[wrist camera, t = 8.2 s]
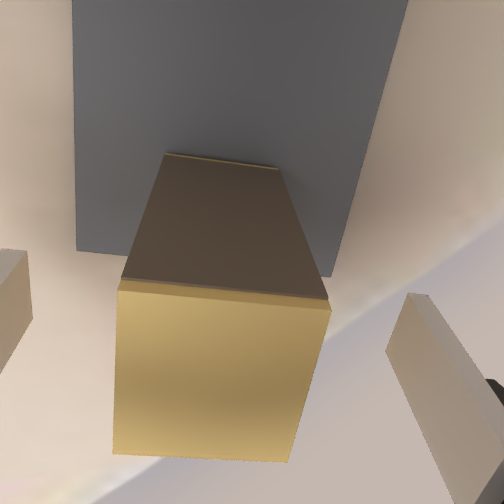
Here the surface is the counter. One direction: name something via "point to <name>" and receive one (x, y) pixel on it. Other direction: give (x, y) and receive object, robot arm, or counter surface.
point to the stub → (216, 317)
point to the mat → (226, 102)
